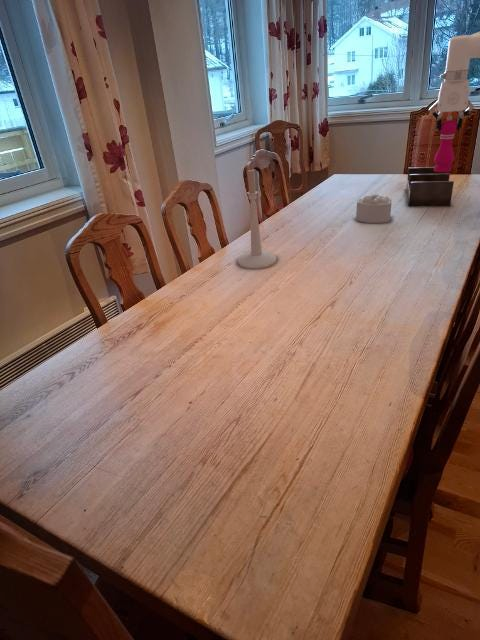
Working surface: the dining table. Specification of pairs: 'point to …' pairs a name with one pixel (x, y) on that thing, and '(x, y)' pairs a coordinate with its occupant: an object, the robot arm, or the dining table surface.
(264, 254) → the candlestick
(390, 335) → the dining table surface
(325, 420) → the dining table surface
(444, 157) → the pepper mill
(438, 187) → the shelf
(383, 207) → the lumpy-topped squat cylinder
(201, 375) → the dining table surface
